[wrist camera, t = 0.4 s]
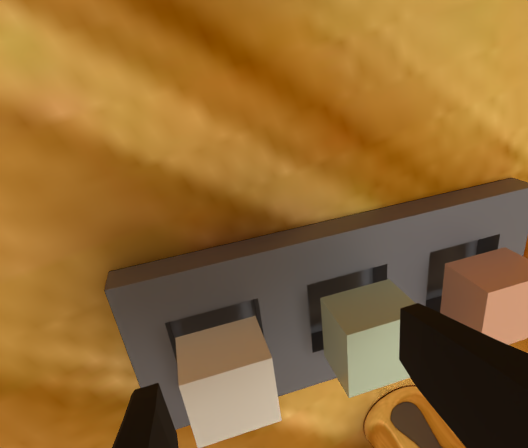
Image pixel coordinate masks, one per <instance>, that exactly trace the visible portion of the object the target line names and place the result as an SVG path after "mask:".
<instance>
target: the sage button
mask: <svg viewBox="0 0 528 448" xmlns="http://www.w3.org/2000/svg"><path fill="white" fill-rule="evenodd" d="M320 302H321V316H322V331H323V345H324V356H325V358H326V359H327V361H328V363H329V365H330V366H331V368H332V370H333V371H334V373H335V375H336V377H337V378H338V380H339V382H340V383H341V385H342V387H343V389H344V390H345V392H346V394H347V396H348V397H349V398H351V397H354V396H357V395H360V394H362V393H365V392H368V391H371V390H374V389H377V388H380V387H383V386H386V385H389V384H392V383H395V382H398V381H401V380H404V379H407V378H410V376H409V374H408V373H407V371H406V370H405V368H404V366H403V365H402V363H401V362H400V360H399V340H400V308H403V307H406V306H410V305H413V304H416V303H415V302H414V301H413V300H412V299H410V298H409V297H408V296H407V295H406V294H405V293H404V292H403V291H402V290H401V289H399V288H398V287H397V286H396V285H395V284H394V283H393V282H392V281H391V280H390V279H387V280H384V281H380V282H376V283H373V284H369V285H365V286H362V287H358V288H354V289H351V290H347V291H344V292H340V293H336V294H333V295H329V296H325V297H322V298H320Z"/></svg>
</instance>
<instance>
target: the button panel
mask: <svg viewBox="0 0 528 448" xmlns="http://www.w3.org/2000/svg"><path fill="white" fill-rule="evenodd" d="M527 234H528V183H527V182H524V181H521V180H518V179H514V178H509V179H505V180H500V181H496V182H492V183H487V184H483V185H479V186H475V187H470V188H466V189H462V190H457V191H453V192H449V193H445V194H440V195H436V196H432V197H427V198H423V199H419V200H415V201H410V202H406V203H402V204H397V205H393V206H389V207H385V208H380V209H376V210H372V211H367V212H363V213H359V214H355V215H350V216H346V217H342V218H337V219H333V220H329V221H325V222H320V223H316V224H312V225H307V226H303V227H299V228H295V229H290V230H286V231H282V232H277V233H273V234H269V235H265V236H260V237H256V238H252V239H247V240H243V241H239V242H235V243H230V244H226V245H222V246H217V247H213V248H209V249H205V250H200V251H196V252H192V253H187V254H183V255H179V256H175V257H170V258H166V259H162V260H157V261H153V262H149V263H145V264H140V265H136V266H132V267H127V268H123V269H119V270H115V271H110V272H109V273H108V277H107V281H106V286H105V290H104V291H105V294H106V296H107V299H108V302H109V304H110V307H111V310H112V312H113V315H114V318H115V321H116V323H117V326H118V329H119V331H120V334H121V337H122V339H123V342H124V345H125V347H126V350H127V353H128V355H129V358H130V361H131V364H132V366H133V369H134V372H135V374H136V377H137V380H138V382H139V385H140V388H142V387H146V386H149V385H152V384H155V383H159V386H160V388H161V391H162V394H163V397H164V400H165V402H166V405H167V408H168V411H169V413H170V416H171V419H172V422H173V425H174V427H175V430H176V429H179V428H182V427H185V426H188V425H191V424H190V421H189V418H188V415H187V411H186V408H185V405H184V402H183V398H182V395H181V392H180V389H179V383H178V369H177V354H176V340H175V338H176V337H180V336H183V335H187V334H191V333H194V332H198V331H202V330H205V329H209V328H213V327H216V326H220V325H223V324H227V323H231V322H234V321H238V320H242V319H245V318H249V317H253V316H256V319H257V321H258V324H259V326H260V329H261V331H262V334H263V336H264V339H265V341H266V344H267V346H268V349H269V351H270V354H271V356H272V360H273V367H274V374H275V380H276V387H277V394H278V396H281V395H284V394H288V393H291V392H294V391H297V390H300V389H303V388H306V387H309V386H312V385H316V384H319V383H322V382H325V381H328V380H331V379H334V378H337V377H336V375H335V373H334V371H333V370H332V368H331V366H330V365H329V363H328V361H327V359H326V358H325V356H324V345H323V331H322V316H321V302H320V298H322V297H325V296H329V295H333V294H336V293H340V292H344V291H347V290H351V289H354V288H358V287H362V286H365V285H369V284H373V283H376V282H380V281H384V280H387V279H390V280H391V281H392V282H393V283H394V284H395V285H396V286H397V287H398V288H399V289H401V290H402V291H403V292H404V293H405V294H406V295H407V296H408V297H409V298H410V299H412V300H413V301H414V302H415V303H420V304H422V305H424V306H426V307H429V308H431V309H433V310H435V311H437V312H439V313H440V309H441V299H442V289H443V279H444V269H445V263H449V262H453V261H456V260H460V259H464V258H467V257H471V256H474V255H478V254H482V253H485V252H489V251H493V250H496V249H500V248H504V247H506V248H508V249H510V250H511V251H513V252H515V253H517V254H519V255H521V256H523V254H524V249H525V244H526V239H527Z"/></svg>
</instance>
